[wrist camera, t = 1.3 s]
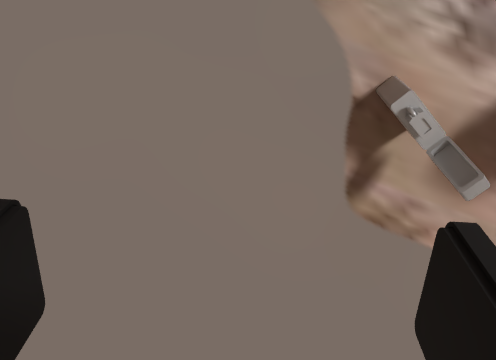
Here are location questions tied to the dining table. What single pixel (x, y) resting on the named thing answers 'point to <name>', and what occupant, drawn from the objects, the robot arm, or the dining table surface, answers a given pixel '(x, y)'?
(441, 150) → the lighter
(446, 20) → the dining table surface
